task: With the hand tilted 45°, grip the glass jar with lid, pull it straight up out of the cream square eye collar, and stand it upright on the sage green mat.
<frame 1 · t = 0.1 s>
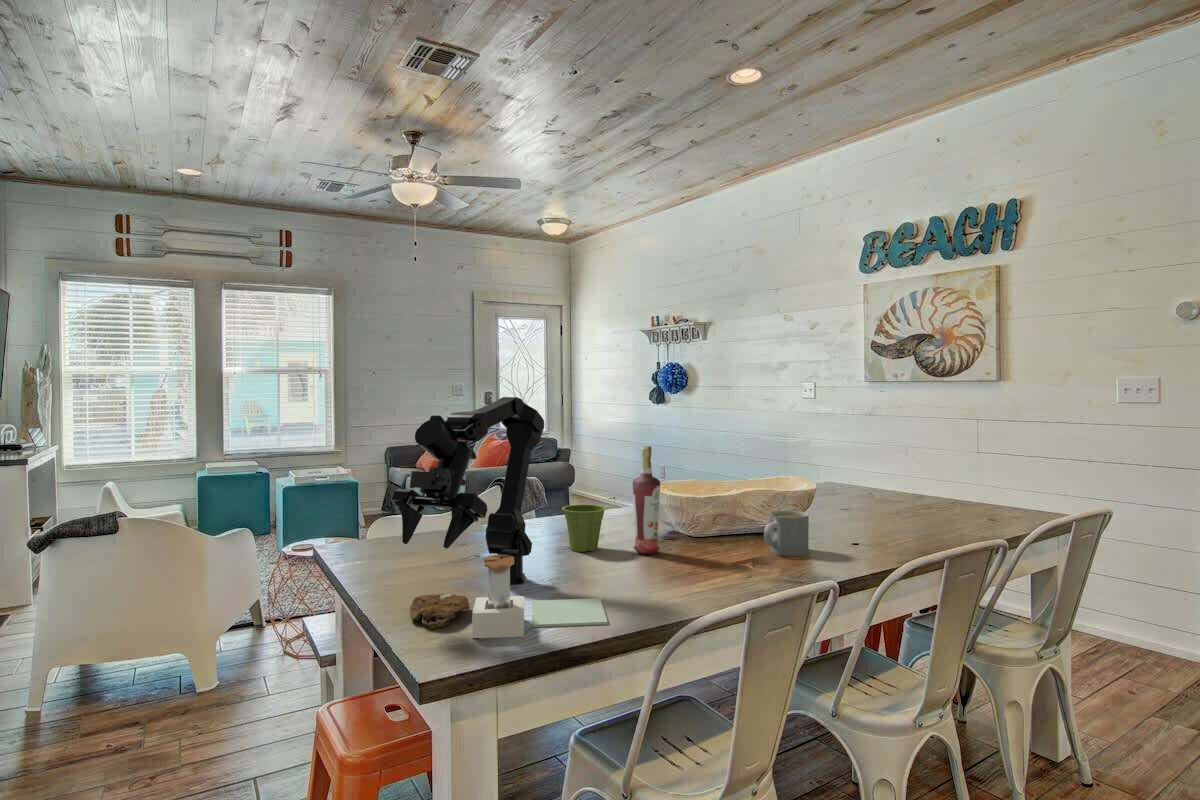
hand: (424, 545, 129), 15 cm above the table, tool tilted 35°, fingers open, 9 cm apart
decorative rock: (440, 619, 134), on the table
plant pot: (584, 550, 187), on the table
eye collar: (499, 628, 127), on the table
coffee mug: (783, 552, 183), on the table
liquor: (646, 553, 182), on the table
sage mat: (568, 613, 135), on the table
glass jar with lid: (499, 593, 127), in the eye collar
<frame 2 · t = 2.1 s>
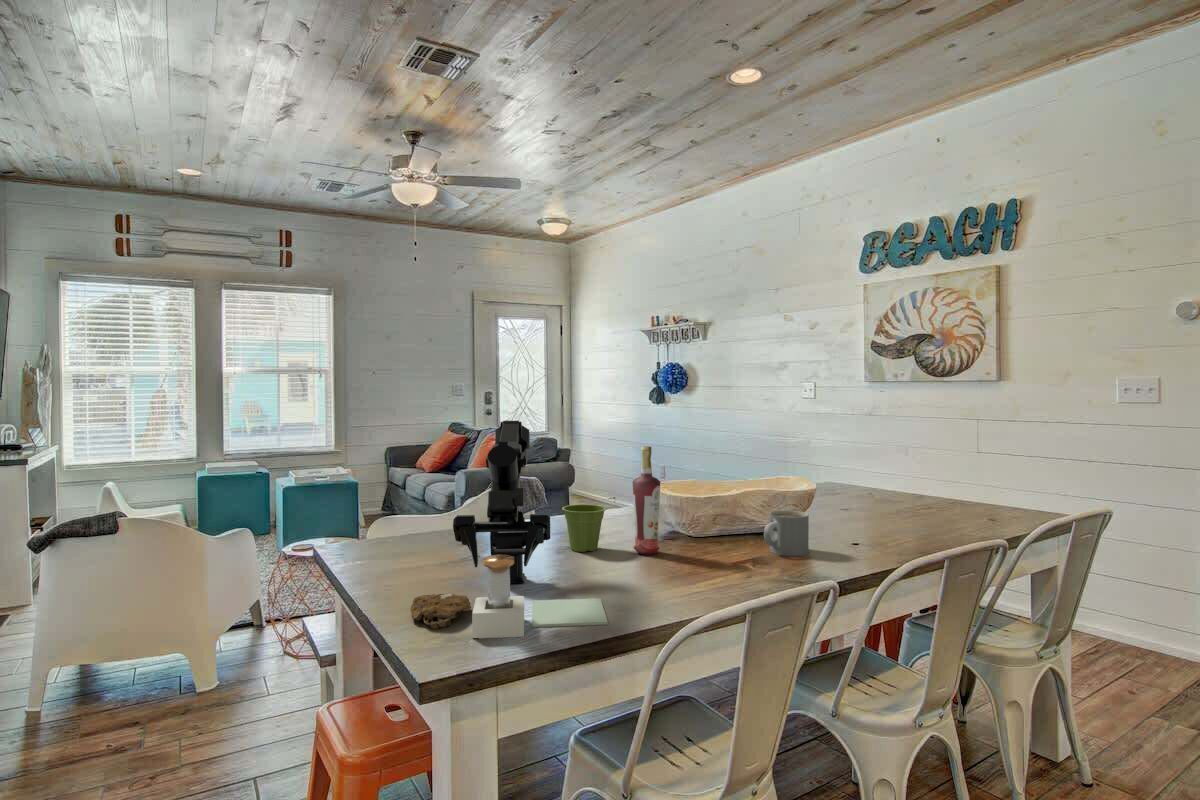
hand: (500, 565, 130), 11 cm above the table, tool tilted 45°, fingers open, 9 cm apart
nothing on the table moved.
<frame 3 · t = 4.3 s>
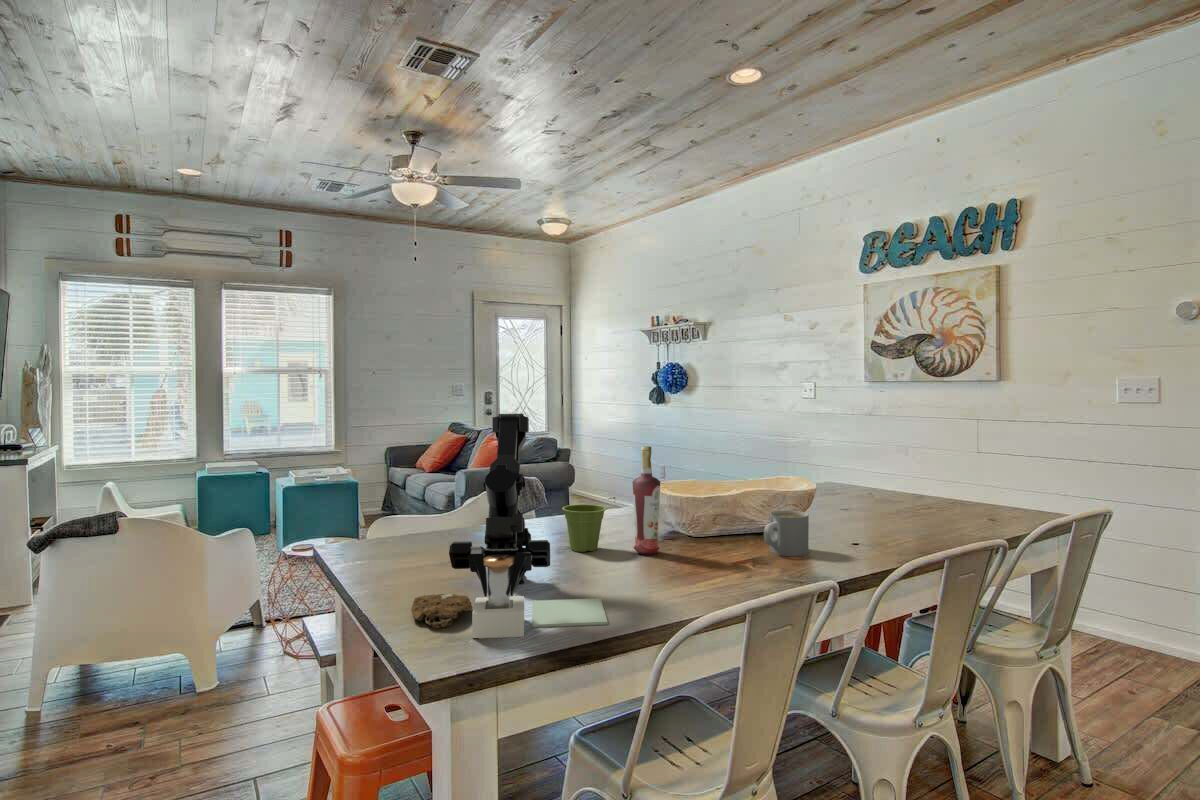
hand: (498, 595, 126), 7 cm above the table, tool tilted 45°, fingers closed on glass jar with lid, 4 cm apart
glass jar with lid: (499, 593, 127), in the eye collar, touching gripper
everything else where it was.
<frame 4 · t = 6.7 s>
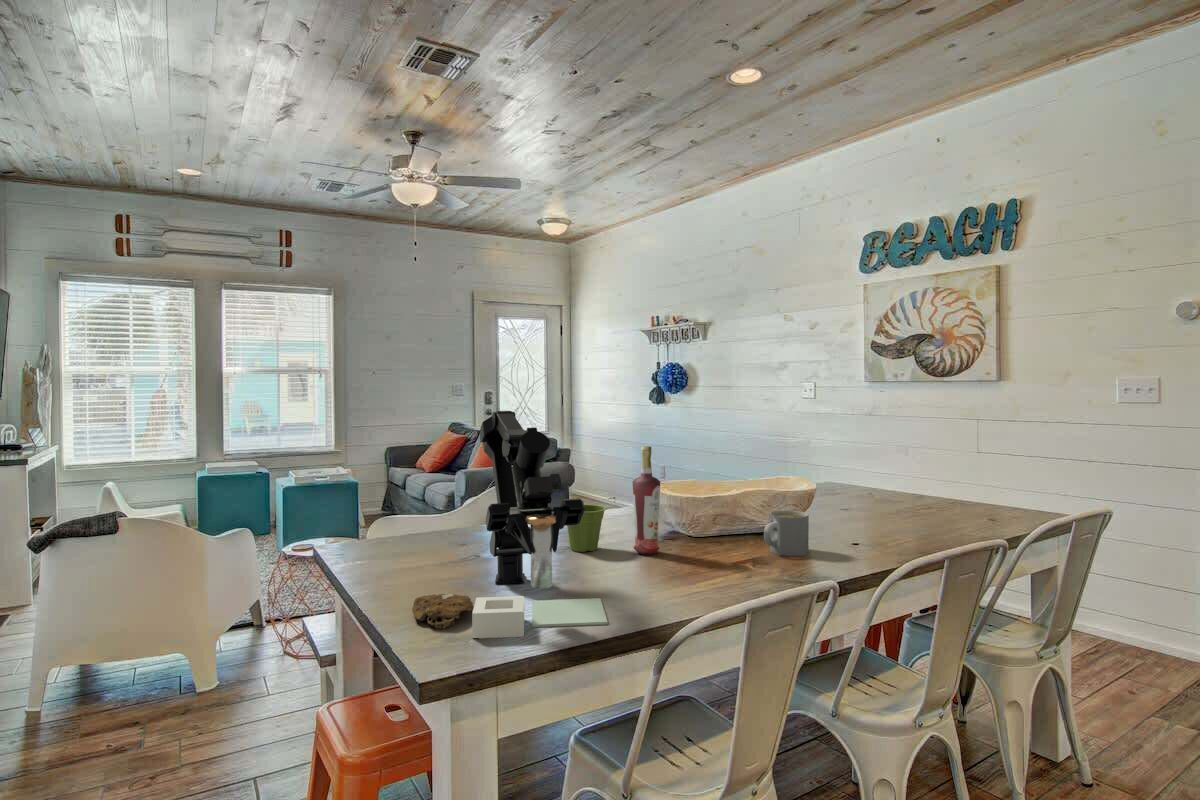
hand: (543, 552, 129), 13 cm above the table, tool tilted 45°, fingers closed on glass jar with lid, 4 cm apart
glass jar with lid: (541, 551, 131), point 13 cm above the table, touching gripper
everything else where it was.
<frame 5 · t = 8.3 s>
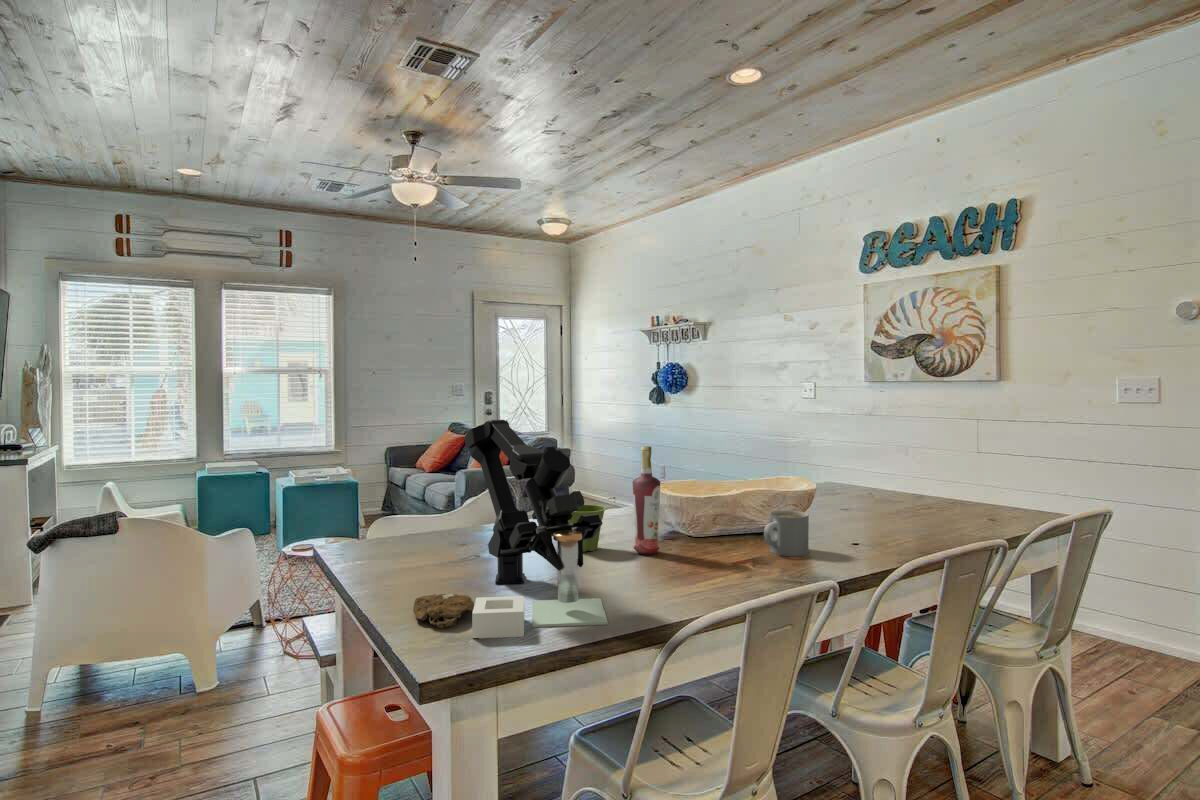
hand: (571, 567, 134), 9 cm above the table, tool tilted 45°, fingers closed on glass jar with lid, 4 cm apart
glass jar with lid: (567, 566, 135), point 9 cm above the table, touching gripper
everything else where it was.
when the fingers open (8 cm above the table, at t = 9.4 s): glass jar with lid stays where it is, resting on sage mat.
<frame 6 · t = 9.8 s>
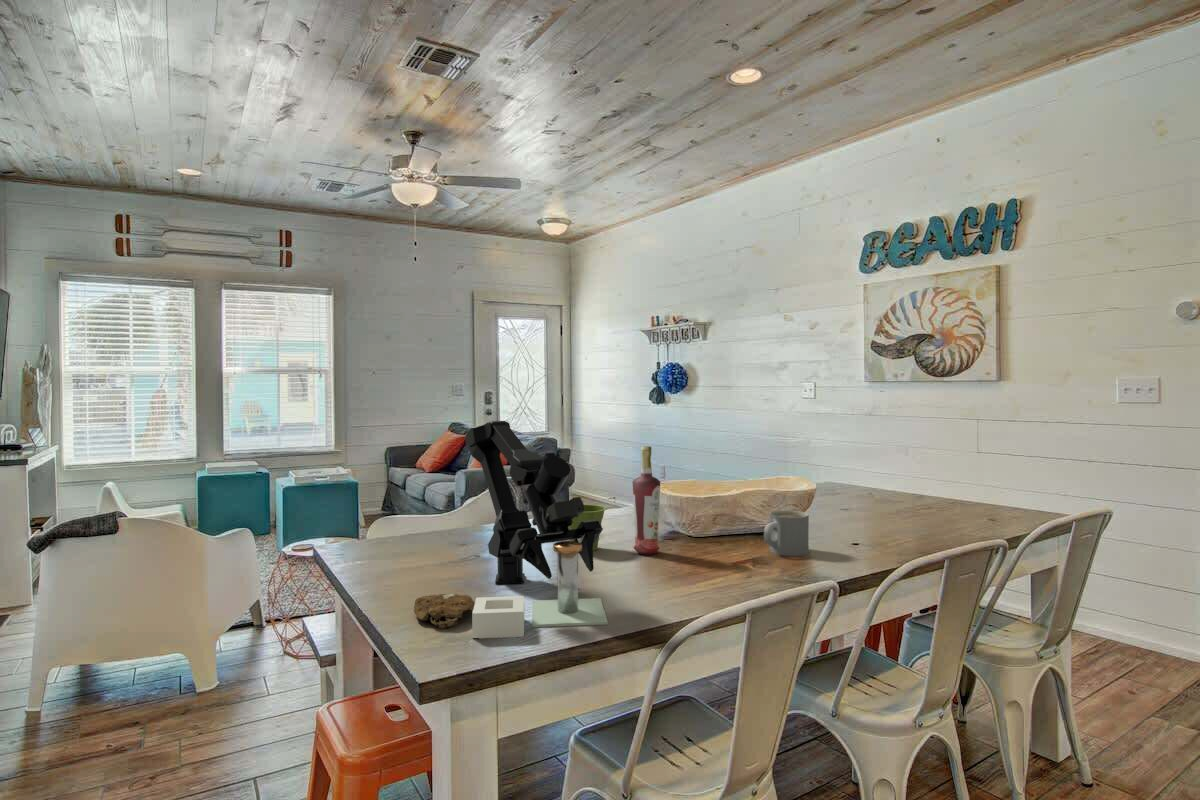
hand: (571, 574, 134), 8 cm above the table, tool tilted 45°, fingers open, 9 cm apart
glass jar with lid: (567, 577, 135), on the sage mat
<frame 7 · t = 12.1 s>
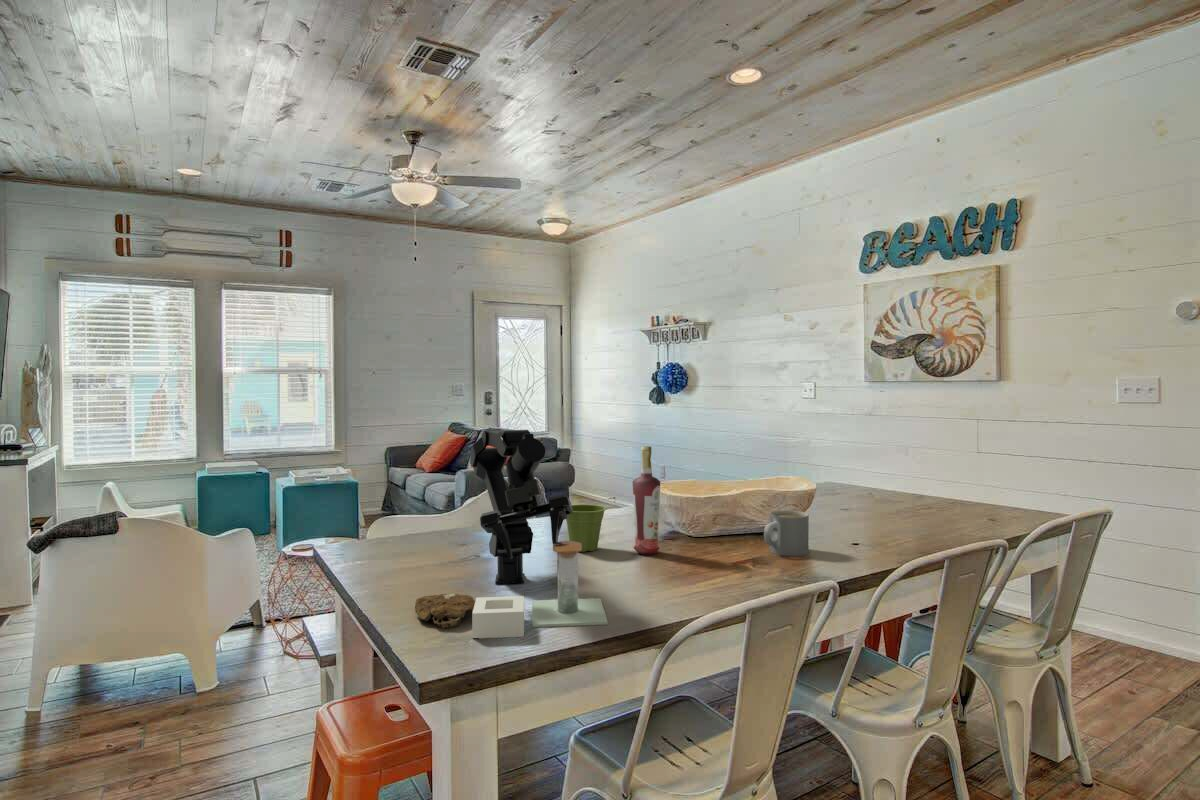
hand: (532, 553, 141), 10 cm above the table, tool tilted 30°, fingers open, 9 cm apart
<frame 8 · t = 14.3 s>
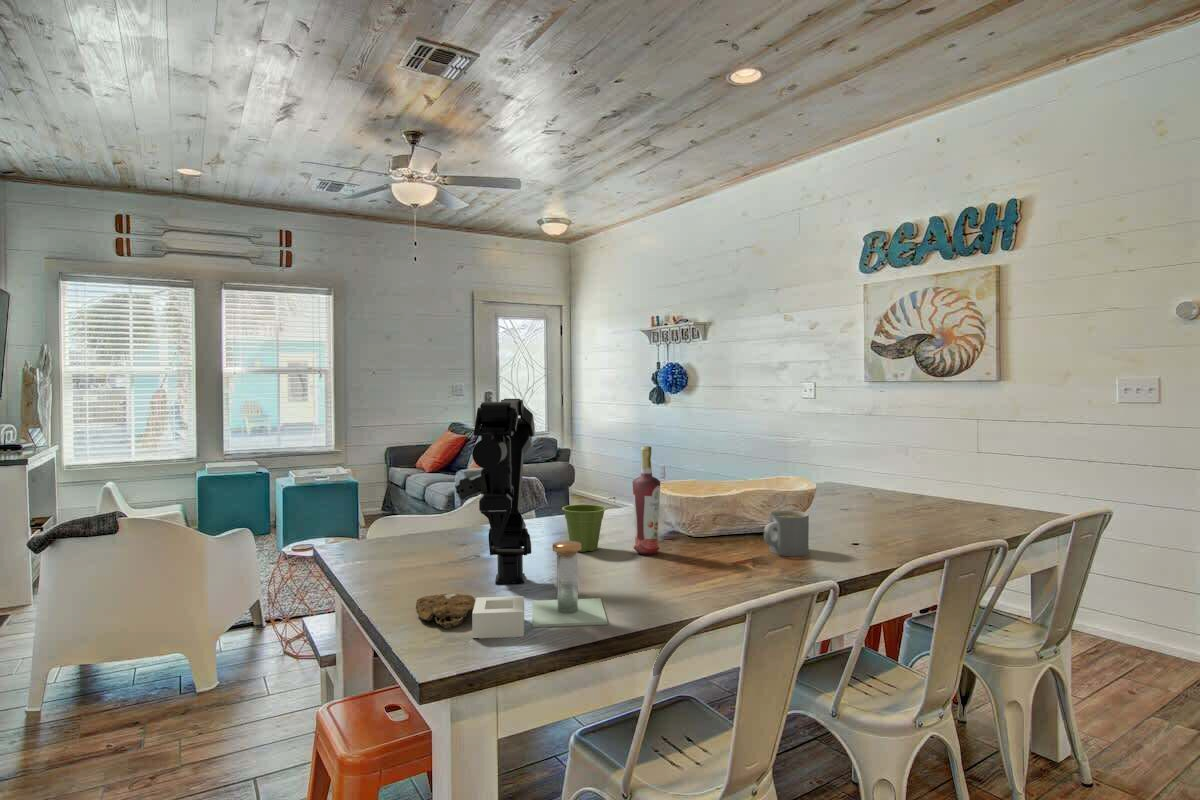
hand: (497, 537, 144), 13 cm above the table, tool pointing down, fingers open, 9 cm apart
at the end: glass jar with lid inside the target area on the sage mat (0.2 cm from its centre), point 7.0 cm above the sage mat's base; glass jar with lid tilted 1°; the gripper is holding nothing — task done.
